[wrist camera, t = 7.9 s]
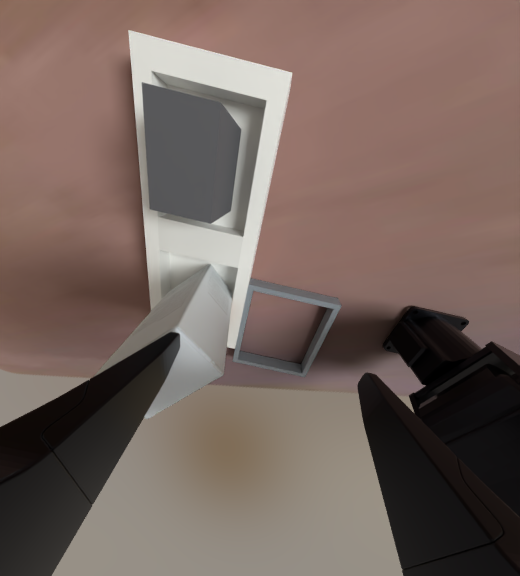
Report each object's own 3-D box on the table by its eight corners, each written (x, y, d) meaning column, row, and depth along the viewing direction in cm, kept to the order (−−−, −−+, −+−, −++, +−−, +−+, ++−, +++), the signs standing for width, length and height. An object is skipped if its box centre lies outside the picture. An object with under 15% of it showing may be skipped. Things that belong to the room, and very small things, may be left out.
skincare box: (192, 319, 23) (144, 423, 12) (167, 291, 21) (84, 381, 10) (235, 292, 22) (226, 377, 11) (211, 261, 21) (173, 324, 9)
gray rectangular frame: (337, 298, 22) (341, 305, 21) (303, 367, 28) (305, 377, 26) (250, 278, 22) (248, 284, 20) (234, 352, 27) (232, 361, 26)
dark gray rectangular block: (241, 129, 15) (221, 102, 10) (230, 211, 18) (210, 223, 13) (190, 116, 15) (141, 82, 10) (187, 200, 18) (149, 209, 13)
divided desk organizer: (290, 89, 14) (292, 73, 12) (238, 334, 26) (234, 348, 24) (152, 54, 14) (128, 30, 12) (163, 317, 25) (152, 330, 23)
